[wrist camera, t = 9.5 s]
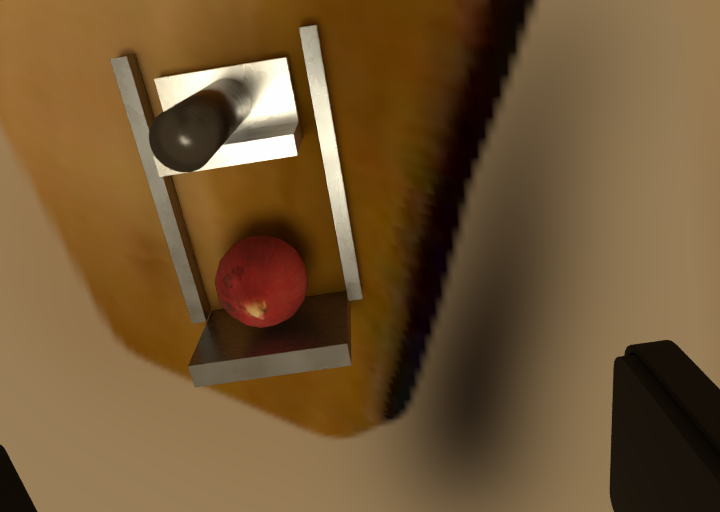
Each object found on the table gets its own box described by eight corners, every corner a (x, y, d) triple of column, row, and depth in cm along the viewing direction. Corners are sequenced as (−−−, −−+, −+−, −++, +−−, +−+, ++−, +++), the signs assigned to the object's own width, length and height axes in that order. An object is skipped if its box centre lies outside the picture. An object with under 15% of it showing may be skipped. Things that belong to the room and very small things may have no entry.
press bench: (119, 57, 35) (68, 68, 28) (317, 24, 34) (310, 29, 28) (203, 331, 43) (177, 389, 36) (365, 308, 42) (368, 362, 36)
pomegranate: (237, 299, 42) (214, 362, 34) (218, 225, 39) (189, 276, 32) (316, 288, 42) (310, 349, 34) (302, 213, 39) (292, 262, 32)
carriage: (160, 76, 35) (76, 109, 24) (287, 55, 35) (261, 79, 24) (182, 155, 37) (114, 218, 26) (303, 136, 37) (285, 192, 26)
